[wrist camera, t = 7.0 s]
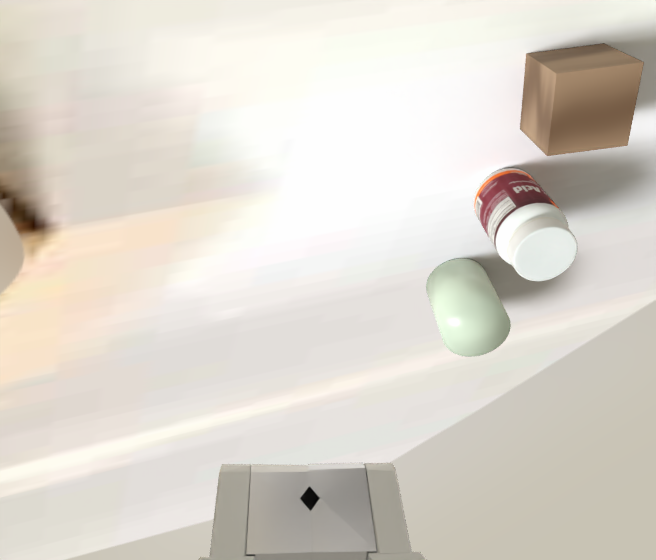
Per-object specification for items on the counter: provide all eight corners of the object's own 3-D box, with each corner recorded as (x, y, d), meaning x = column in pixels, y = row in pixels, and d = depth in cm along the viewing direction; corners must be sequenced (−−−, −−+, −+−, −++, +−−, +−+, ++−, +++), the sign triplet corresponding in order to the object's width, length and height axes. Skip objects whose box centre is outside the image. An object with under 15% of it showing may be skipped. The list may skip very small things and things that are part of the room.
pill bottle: (548, 180, 42) (600, 238, 35) (510, 232, 44) (552, 296, 37) (495, 155, 40) (539, 210, 33) (459, 210, 43) (493, 272, 36)
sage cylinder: (431, 258, 45) (448, 303, 40) (492, 258, 45) (517, 304, 40) (422, 308, 48) (437, 356, 43) (480, 308, 48) (502, 356, 43)
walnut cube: (525, 53, 36) (556, 73, 32) (603, 43, 36) (643, 62, 32) (519, 128, 39) (547, 155, 35) (591, 119, 39) (627, 145, 35)
